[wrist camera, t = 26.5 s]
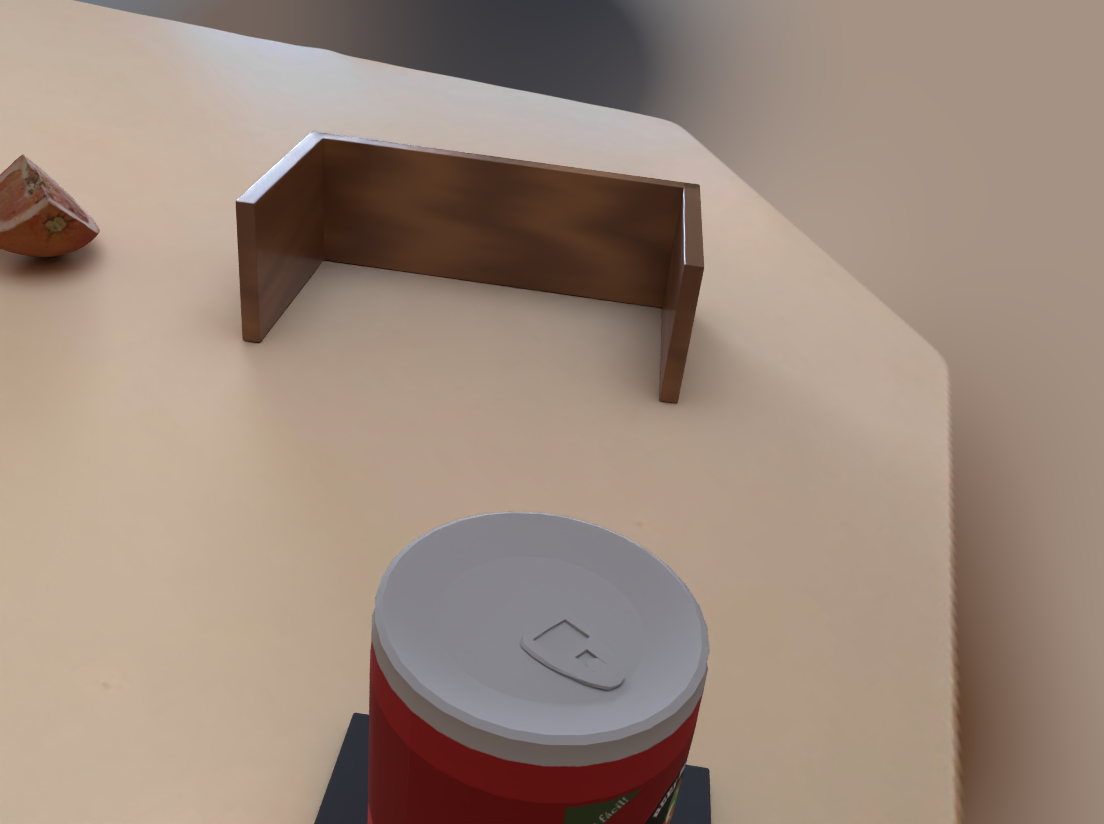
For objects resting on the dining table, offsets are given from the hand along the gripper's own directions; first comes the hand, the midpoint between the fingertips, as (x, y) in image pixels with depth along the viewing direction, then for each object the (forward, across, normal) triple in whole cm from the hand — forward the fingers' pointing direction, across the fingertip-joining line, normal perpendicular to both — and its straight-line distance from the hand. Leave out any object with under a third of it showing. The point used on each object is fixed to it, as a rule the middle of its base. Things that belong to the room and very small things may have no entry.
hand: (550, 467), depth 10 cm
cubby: (+47, -7, -22) cm, 52 cm away
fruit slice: (+48, -34, -22) cm, 63 cm away
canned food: (+10, 0, -22) cm, 24 cm away
